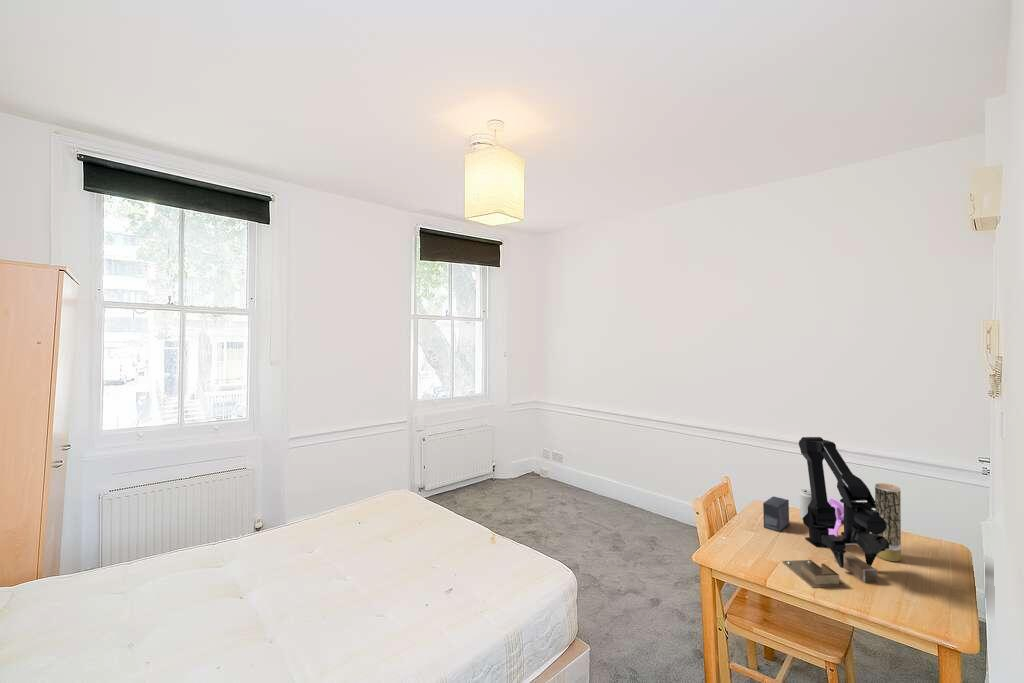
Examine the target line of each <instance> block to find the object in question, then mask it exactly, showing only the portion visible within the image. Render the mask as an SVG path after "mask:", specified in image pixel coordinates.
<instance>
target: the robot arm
mask: <svg viewBox="0 0 1024 683" xmlns="http://www.w3.org/2000/svg"><path fill="white" fill-rule="evenodd" d="M798 446H799V449H800V453H801V455H802V456H803V458H804V459H805V460H806V464H807V470H808V471H807V472H808V479H809V486H810V487H809V488H810V489H809V490H811V497H812V500H811V502H810V504H809V505H808V513H807V514H806V515H805V516H804V517H803V519H802V521H803V525H805V526H806V527H807V528H808V536H807V537H805V538H804V540H806V541H807V542H809V543H810V544H811V545H813V546H815V547H821V548H822V547H826V548H827V547H828V548H829V549H830V551H831V552H832V554H833V556H835V558H836V560H837V562H838V564H839V565H838V564H837V565H838V567H840V568H841V569H844V568H843V565H844V553H845V552H846V551H847V550H846V546H848V545H849V546H850V545H851V546H853V545H855V546H856V545H858V547H859V548H860V549H861V550H862V552H863V553H864V558H865V563H867V564H868V565H870V566H872V565H873V563H874V562H875V559H876V557H877V554H878V553H879V552H882V551H885V549H889V542H888V540H887V539H885V538H884V537H883V536H880V535H878V534H881V533H883V532H884V531H885V530H886V527H887V524H886V522H885V520H884V519H883V518H882V517H880V516H879V512H877V511H875V508H877V507H876V504H875V503H876V502H875V497H873V495H872V493H871V490H870V489H869V487H868V486H867V485H866V483H865V482H864V481H863V480H862V479H861V478H860V477H858V476H856V475H855V474H854V473H853V472H852V471H851V468H849V466H848V465H847V463H846V462H845V460H844V459H843V457H842V455H841V454H840V452H839V451H838V449H837V445H836V443H835V442H834V441H830V440H825V439H823V437H820V436H803V437H801V438H800V439H799V441H798ZM824 460H825V463H826V464H827V465H828V467H829V469H830V470H831V472H832V473H833V476H834V477H835V478H836V481H837V485H836V489H837V490H838V493H839V495H840V497H841V499H839V501H840V502H841V503H842V504H843V505H844V520H841V523H842V525H843V531H841V532H840V535H841V536H842V537H843V538H840V537H837V536H835V535H829V530H828V529H834V528H835V524H836V520H837V518H836V514H835V508H834V507H832V506H831V505H830V503H829V499H828V493H827V487H826V479H825V471H824V462H823V461H824ZM845 550H846V551H845Z"/></svg>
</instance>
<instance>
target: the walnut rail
mask: <svg viewBox="0 0 1024 683" xmlns="http://www.w3.org/2000/svg"><path fill="white" fill-rule="evenodd" d="M844 550H845V551H846V552H845V553H844V565H843V568H842V569H844V570H845V571H847V572H848V573H850V574H851V575H852V576H854V577H855V578H857V579H859V580H860V581H862V582H863V583H864V584H874V583H878V579H879V578H878V569H877V568H875V567H873V566H872V565H871V566H870V565H868V564H867V563H866V561H864V560H862V559H860V558H859V557H857V556H856V555H855V554H853V553H851V552H849V551H848V550H847V549H844ZM833 556H834V555H833ZM834 563H835V564H837V565H838V566H839V564H838V562H837V560H836V558H835V556H834Z"/></svg>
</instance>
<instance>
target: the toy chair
mask: <svg viewBox="0 0 1024 683" xmlns="http://www.w3.org/2000/svg"><path fill="white" fill-rule="evenodd" d="M828 502H829V504H830V505H831V506H832V507H834V508H835V514H836V518H837V520H836V524H835V528H834V529H828V530H829V535H835V536H837V537H838V535H839V534H838V533H839V529H840V527H841V526H842V525H843V524H842V523H841V520H844V503H842V502H840V500H838V499H836V498H834V497H830V498H829V499H828ZM838 538H839V537H838Z"/></svg>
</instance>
